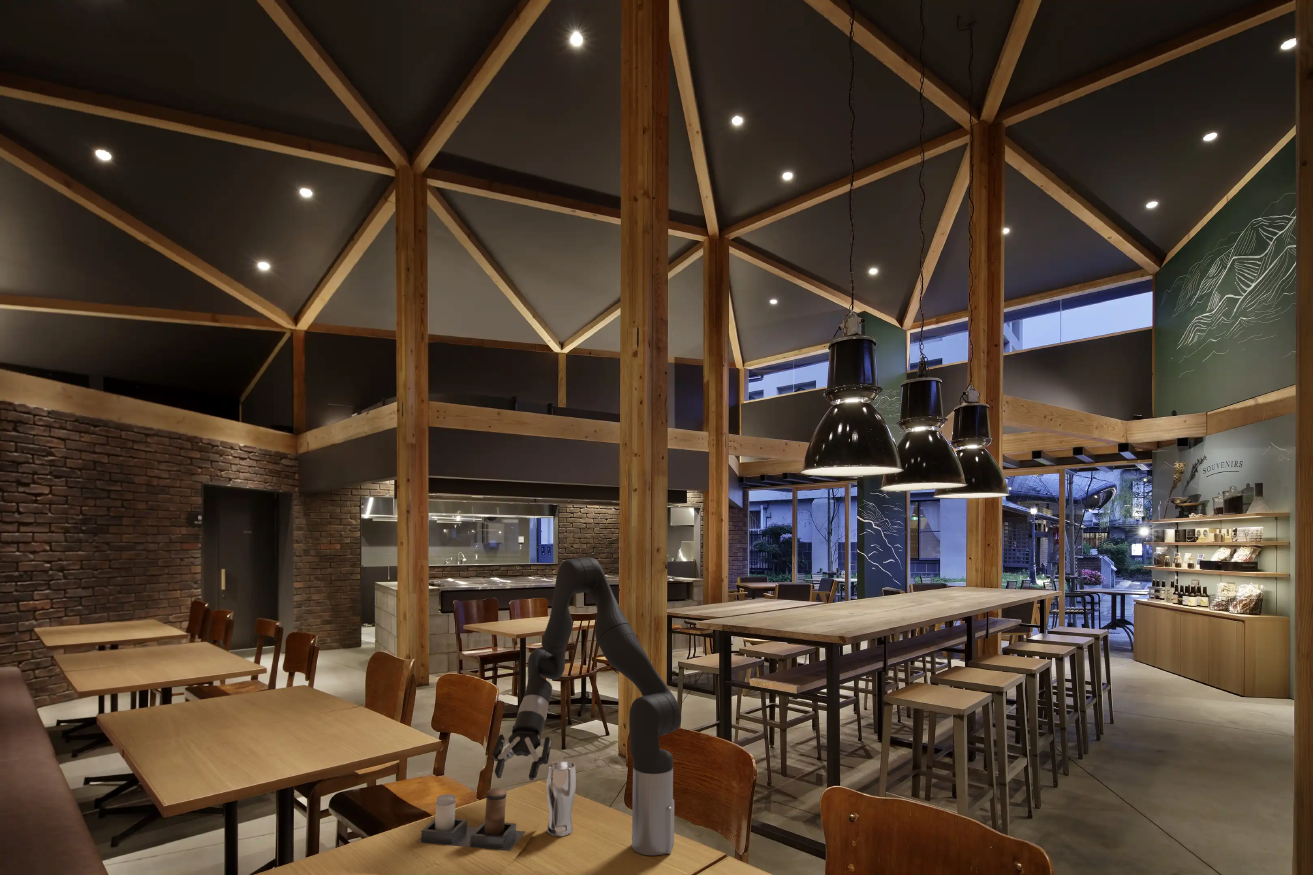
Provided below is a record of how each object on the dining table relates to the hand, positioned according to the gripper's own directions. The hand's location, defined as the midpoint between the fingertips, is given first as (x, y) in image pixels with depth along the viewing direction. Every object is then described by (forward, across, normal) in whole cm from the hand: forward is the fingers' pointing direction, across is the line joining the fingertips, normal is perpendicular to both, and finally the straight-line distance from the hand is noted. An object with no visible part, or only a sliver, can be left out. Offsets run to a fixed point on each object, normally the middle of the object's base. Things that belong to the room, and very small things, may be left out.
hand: (514, 777), depth 173 cm
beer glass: (+10, +13, +6) cm, 17 cm away
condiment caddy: (+16, -5, -1) cm, 17 cm away
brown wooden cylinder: (+15, 0, -2) cm, 15 cm away
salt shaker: (+15, -12, -2) cm, 19 cm away
